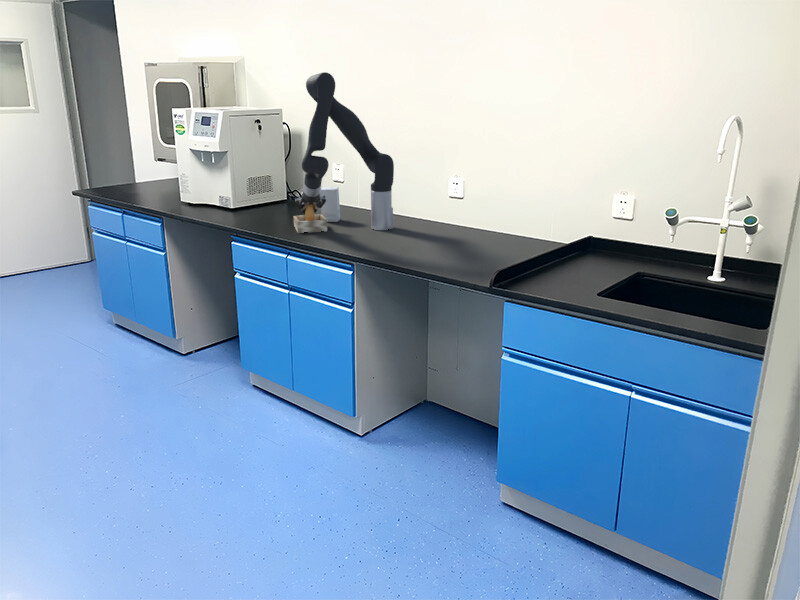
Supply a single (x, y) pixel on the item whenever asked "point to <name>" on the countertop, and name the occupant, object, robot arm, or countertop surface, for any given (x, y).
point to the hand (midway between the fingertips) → (308, 211)
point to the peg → (309, 213)
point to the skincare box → (330, 204)
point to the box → (310, 224)
